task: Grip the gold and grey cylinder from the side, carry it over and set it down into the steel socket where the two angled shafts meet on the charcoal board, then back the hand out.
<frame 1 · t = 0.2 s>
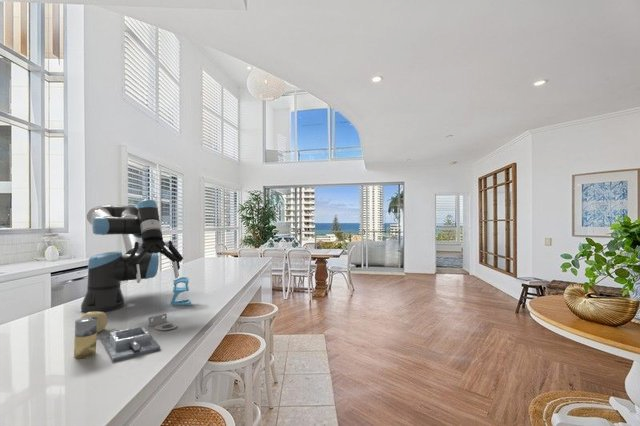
hand: (158, 279, 118), 15 cm above the counter, tool tilted 35°, fingers open, 13 cm apart
coupling board: (129, 344, 94), on the counter
chair: (180, 304, 138), on the counter
gold and grey cylinder: (85, 354, 86), on the counter
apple: (93, 332, 103), on the counter
bracket: (164, 327, 110), on the counter
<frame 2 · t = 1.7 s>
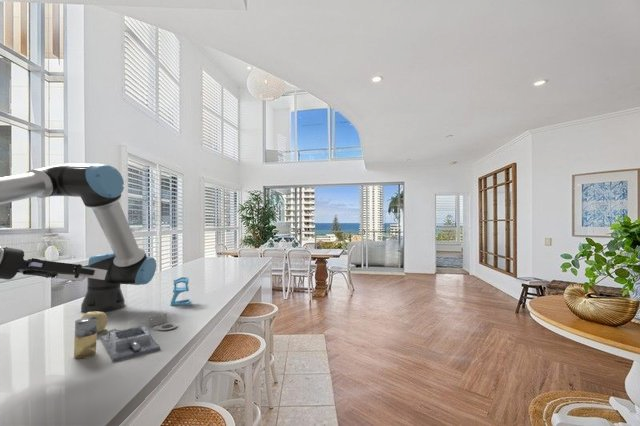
hand: (94, 276, 89), 22 cm above the counter, tool tilted 75°, fingers open, 13 cm apart
nothing on the counter moved.
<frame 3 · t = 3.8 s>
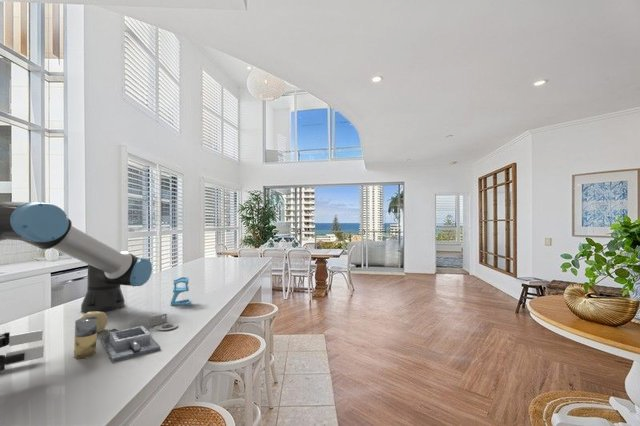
hand: (43, 342, 80), 6 cm above the counter, tool horizontal, fingers open, 13 cm apart
nothing on the counter moved.
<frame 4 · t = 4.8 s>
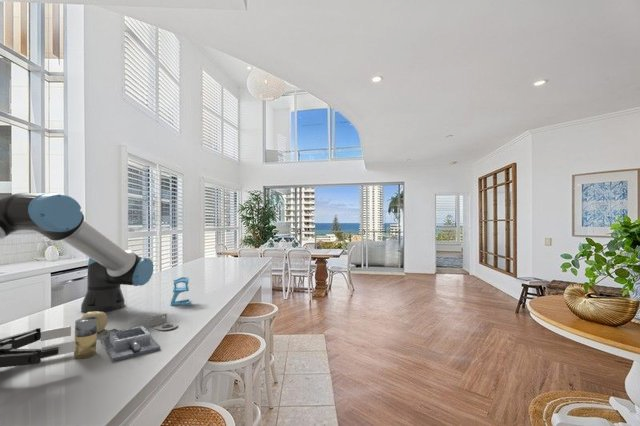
hand: (73, 337, 84), 6 cm above the counter, tool horizontal, fingers open, 13 cm apart
nothing on the counter moved.
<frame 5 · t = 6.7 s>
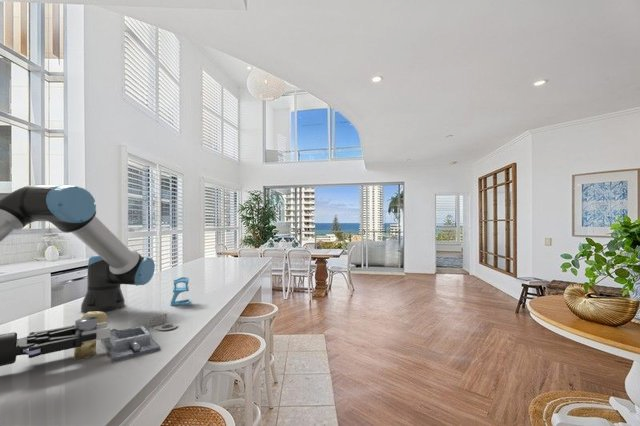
hand: (108, 329, 90), 6 cm above the counter, tool horizontal, fingers closed on gold and grey cylinder, 5 cm apart
gold and grey cylinder: (85, 354, 86), on the counter, touching gripper
everything else where it was.
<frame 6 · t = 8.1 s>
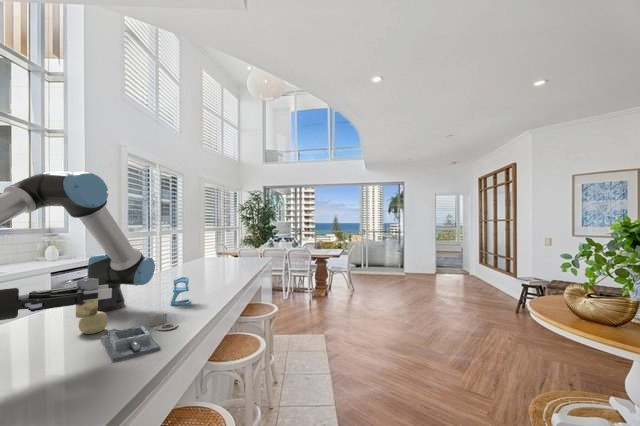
hand: (109, 291, 90), 17 cm above the counter, tool horizontal, fingers closed on gold and grey cylinder, 5 cm apart
gold and grey cylinder: (86, 314, 86), point 11 cm above the counter, touching gripper
everything else where it was.
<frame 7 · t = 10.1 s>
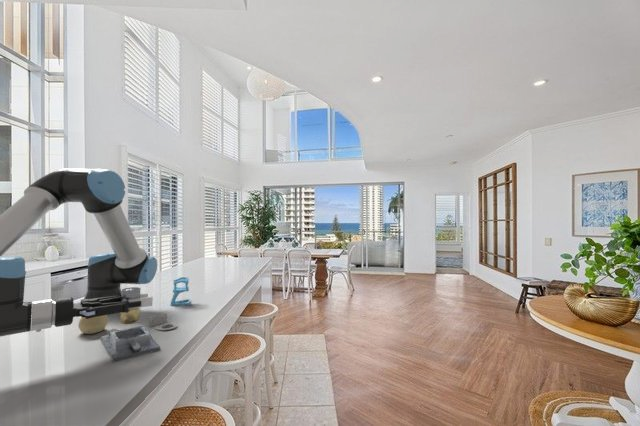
hand: (149, 299, 97), 13 cm above the counter, tool horizontal, fingers closed on gold and grey cylinder, 5 cm apart
gold and grey cylinder: (129, 321, 94), point 7 cm above the counter, touching gripper
everything else where it was.
when the fingers open (8 cm above the counter, at t = 11.2 s): gold and grey cylinder drops 1 cm, resting on coupling board.
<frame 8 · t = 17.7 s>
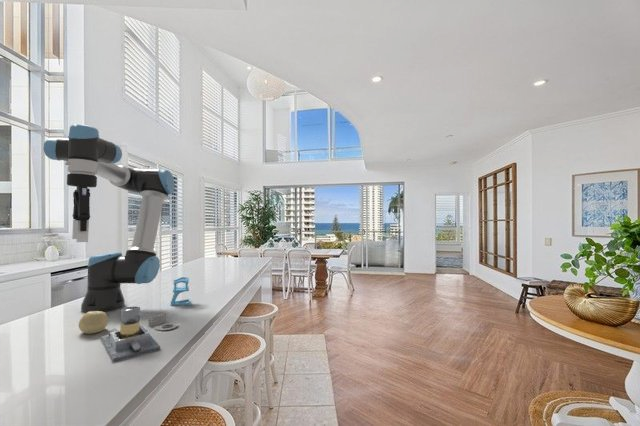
hand: (79, 240, 96), 32 cm above the counter, tool pointing down, fingers open, 13 cm apart
gold and grey cylinder: (129, 341, 94), point 1 cm above the counter, touching coupling board
everything else where it was.
at the end: gold and grey cylinder 0.0 cm off-centre on the coupling board, point 1.0 cm above the coupling board's base; gold and grey cylinder tilted 0°; the gripper is holding nothing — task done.
